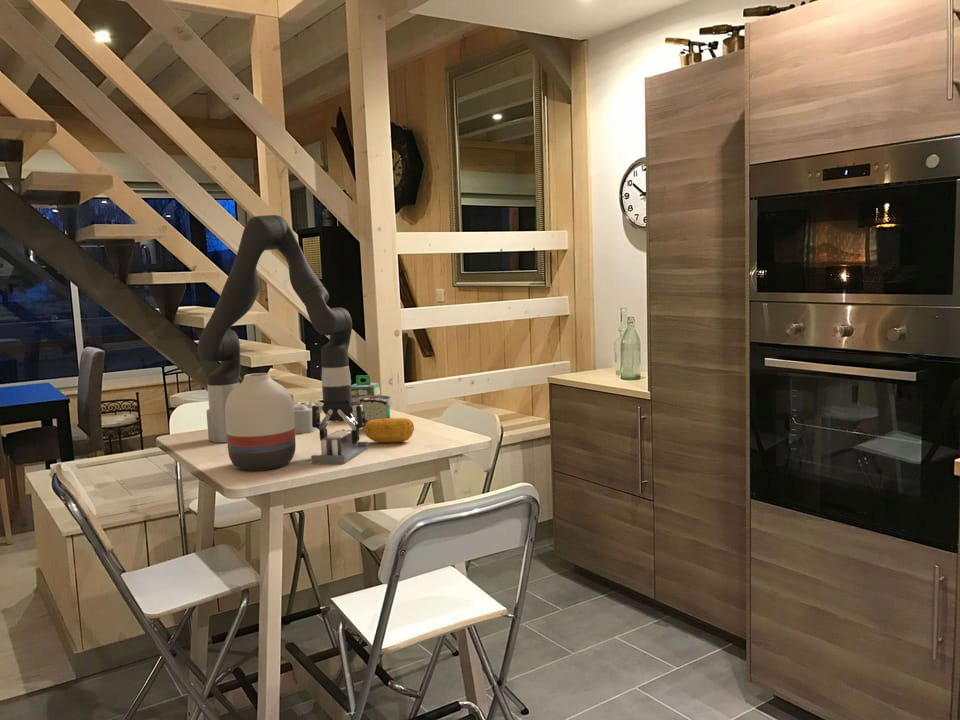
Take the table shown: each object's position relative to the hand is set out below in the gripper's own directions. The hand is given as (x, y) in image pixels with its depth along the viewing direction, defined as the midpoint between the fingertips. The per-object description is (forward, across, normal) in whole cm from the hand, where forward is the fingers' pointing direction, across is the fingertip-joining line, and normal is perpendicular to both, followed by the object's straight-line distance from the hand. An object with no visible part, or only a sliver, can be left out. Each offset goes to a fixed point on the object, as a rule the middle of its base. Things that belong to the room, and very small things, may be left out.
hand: (339, 443), depth 207 cm
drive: (+3, 0, 0) cm, 3 cm away
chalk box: (+4, -13, +53) cm, 55 cm away
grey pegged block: (+3, 0, 0) cm, 3 cm away
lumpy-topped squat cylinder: (+4, -27, +34) cm, 44 cm away
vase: (+4, -17, -11) cm, 20 cm away
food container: (+4, -2, +37) cm, 37 cm away
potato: (+4, +8, +17) cm, 19 cm away
